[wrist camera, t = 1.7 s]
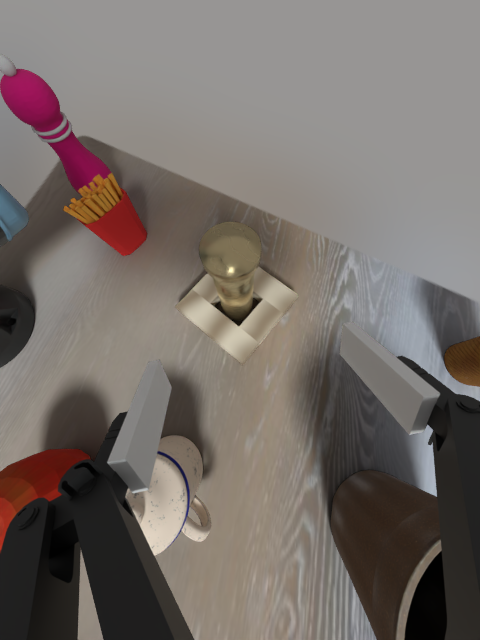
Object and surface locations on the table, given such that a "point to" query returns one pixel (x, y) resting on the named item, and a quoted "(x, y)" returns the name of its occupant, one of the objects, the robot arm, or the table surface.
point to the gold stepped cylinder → (232, 265)
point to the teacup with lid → (172, 495)
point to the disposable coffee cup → (464, 361)
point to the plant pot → (392, 554)
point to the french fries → (109, 214)
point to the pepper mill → (48, 122)
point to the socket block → (254, 327)
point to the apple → (33, 481)
